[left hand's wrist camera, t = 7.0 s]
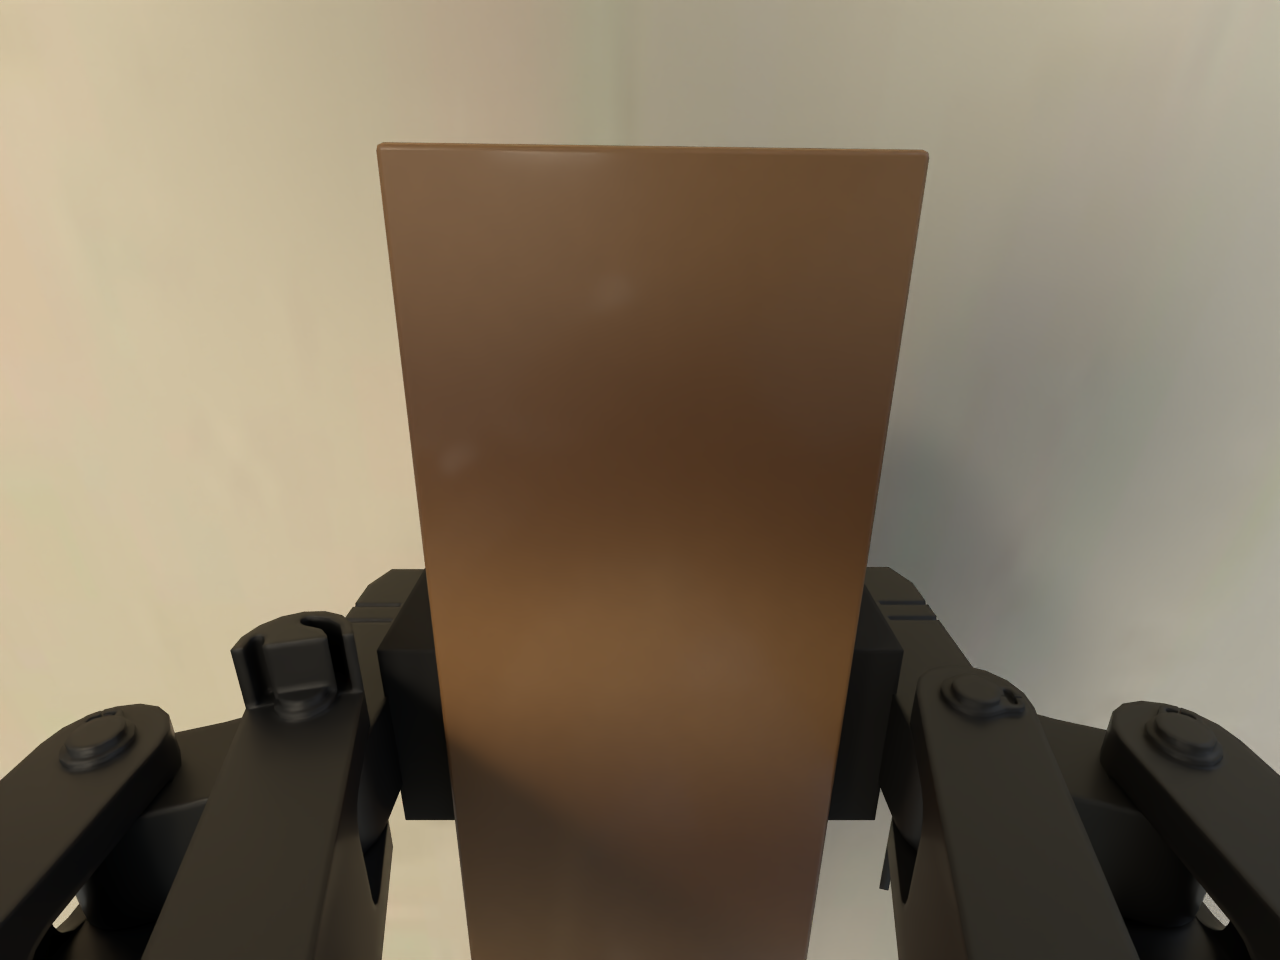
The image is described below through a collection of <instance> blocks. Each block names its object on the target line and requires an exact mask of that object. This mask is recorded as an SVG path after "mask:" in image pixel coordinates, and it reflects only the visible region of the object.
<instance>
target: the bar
mask: <svg viewBox="0 0 1280 960" xmlns="http://www.w3.org/2000/svg"><path fill="white" fill-rule="evenodd" d="M376 151H377V160H378V168H379V177H380V185H381V194H382V202H383V211H384V219H385V228H386V236H387V245H388V253H389V262H390V271H391V279H392V288H393V296H394V305H395V313H396V322H397V330H398V339H399V347H400V356H401V364H402V373H403V381H404V390H405V398H406V407H407V415H408V424H409V432H410V441H411V449H412V458H413V466H414V475H415V483H416V492H417V500H418V509H419V517H420V526H421V534H422V543H423V551H424V560H425V569H426V577H427V586H428V594H429V603H430V611H431V620H432V628H433V637H434V645H435V654H436V662H437V671H438V679H439V688H440V696H441V705H442V713H443V722H444V730H445V739H446V747H447V756H448V764H449V773H450V781H451V790H452V798H453V807H454V815H455V824H456V832H457V841H458V849H459V858H460V866H461V875H462V884H463V892H464V901H465V909H466V918H467V926H468V935H469V943H470V952H471V960H806V959H807V953H808V946H809V940H810V933H811V927H812V920H813V914H814V907H815V900H816V894H817V887H818V881H819V874H820V868H821V861H822V855H823V848H824V842H825V835H826V829H827V822H828V816H829V809H830V802H831V796H832V789H833V783H834V776H835V770H836V763H837V757H838V750H839V744H840V737H841V731H842V724H843V717H844V711H845V704H846V698H847V691H848V685H849V678H850V672H851V665H852V659H853V652H854V646H855V639H856V633H857V626H858V619H859V613H860V606H861V600H862V593H863V587H864V580H865V574H866V567H867V561H868V554H869V548H870V541H871V535H872V528H873V521H874V515H875V508H876V502H877V495H878V489H879V482H880V476H881V469H882V463H883V456H884V450H885V443H886V436H887V430H888V423H889V417H890V410H891V404H892V397H893V391H894V384H895V378H896V371H897V365H898V358H899V352H900V345H901V338H902V332H903V325H904V319H905V312H906V306H907V299H908V293H909V286H910V280H911V273H912V267H913V260H914V253H915V247H916V240H917V234H918V227H919V221H920V214H921V208H922V201H923V195H924V188H925V182H926V175H927V169H928V162H929V154H928V152H926V151H924V150H897V149H825V148H754V147H682V146H610V145H539V144H467V143H395V142H383V143H381V144H378V145H377V150H376Z"/></svg>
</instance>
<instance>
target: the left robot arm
mask: <svg viewBox="0 0 1280 960" xmlns="http://www.w3.org/2000/svg"><path fill="white" fill-rule="evenodd" d="M230 651H231V654H232V658H233V662H234V666H235V669H236V673H237V677H238V681H239V684H240V688H241V692H242V695H243V699H244V703H245V707H246V710H245V712H244V714H243V717H242V718H239V719H235V720H231V721H228V722H224V723H219V724H214V725H210V726H205V727H200V728H196V729H191V730H186V731H181V732H177V733H175V732H174V729H173V726H172V723H171V720H170V717H169V715H168V714H167V713H166V712H165V711H163V710H162V709H161V708H160V707H158V706H152V705H145V704H134V705H125V706H117V707H113V708H109V709H105V710H104V711H98V712H96V713H93V714H90V715H87V716H85V717H84V718H82V719H80V720H78V721H76V722H74V723H72V724H70V725H68V726H66V727H64V728H62V729H61V730H59V731H58V732H57V733H55V734H54V735H52V736H51V737H50V738H48V739H47V740H46V741H44V742H43V743H41V744H40V745H39V746H38V747H37V748H36V749H35V750H34V751H32V752H31V753H30V754H29V755H28V756H27V757H26V758H25V759H24V760H22V761H21V762H20V763H19V764H18V765H17V766H16V767H15V768H14V769H13V770H11V771H10V772H9V773H8V774H7V775H6V776H5V777H4V778H3V779H1V780H0V960H382V950H383V940H384V930H385V920H386V910H387V900H388V890H389V880H390V870H391V860H392V850H393V844H392V838H391V832H390V826H389V821H388V819H389V817H390V814H391V812H392V809H393V807H394V804H395V802H396V799H397V797H398V795H399V792H400V790H401V795H402V801H403V807H404V813H405V819H406V820H455V815H454V807H453V798H452V790H451V781H450V773H449V764H448V756H447V747H446V739H445V730H444V722H443V713H442V705H441V696H440V688H439V679H438V671H437V662H436V654H435V645H434V637H433V628H432V620H431V611H430V603H429V594H428V586H427V577H426V569H392V570H390V571H389V572H387V573H386V574H384V575H383V576H381V577H380V578H378V579H377V580H375V581H374V582H372V583H371V584H369V585H368V586H367V588H366V589H365V591H364V592H363V594H362V595H361V596H360V598H359V599H358V601H357V602H356V606H355V607H353V608H352V609H351V610H350V612H349V613H348V615H347V616H346V617H344V616H342V615H339V614H335V613H331V612H326V611H315V612H301V613H296V614H292V615H287V616H282V617H279V618H277V619H274V620H272V621H269V622H267V623H264V624H262V625H260V626H258V627H256V628H255V629H253V630H252V631H250V632H249V633H247V634H246V635H244V636H243V637H241V638H240V640H239V641H238V642H237V643H236V644H235V646H234V647H233V648H232V649H231V650H230ZM880 788H881V790H882V793H883V795H884V797H885V800H886V802H887V805H888V807H889V810H890V812H891V814H892V821H891V826H890V832H889V837H888V842H887V848H886V853H885V859H884V864H883V869H882V875H881V881H880V888H879V889H884V890H889V885H890V880H891V889H892V899H893V909H894V919H895V929H896V939H897V948H898V958H899V960H1280V775H1279V774H1277V773H1276V772H1275V771H1274V770H1273V769H1272V768H1271V767H1270V766H1269V765H1267V764H1266V763H1265V762H1264V761H1263V760H1262V759H1261V758H1260V757H1258V756H1257V755H1256V754H1255V753H1254V752H1253V751H1252V750H1251V749H1250V748H1248V747H1247V746H1246V745H1245V744H1244V743H1243V742H1242V741H1241V740H1239V739H1238V738H1236V737H1235V736H1234V735H1232V734H1231V733H1229V732H1228V731H1227V730H1225V729H1224V728H1222V727H1221V726H1220V725H1218V724H1216V723H1214V722H1212V721H1210V720H1208V719H1206V718H1204V717H1202V716H1200V715H1198V714H1196V713H1194V712H1192V711H1189V710H1186V709H1183V708H1178V707H1177V706H1172V705H1168V704H1164V703H1155V702H1147V701H1137V702H1131V703H1124V704H1122V705H1121V706H1119V707H1118V708H1117V709H1116V710H1114V711H1113V713H1112V716H1111V719H1110V722H1109V725H1108V728H1107V730H1103V729H1099V728H1094V727H1089V726H1084V725H1080V724H1075V723H1070V722H1065V721H1061V720H1056V719H1052V718H1049V717H1045V716H1041V715H1038V714H1037V713H1036V711H1035V708H1034V707H1033V705H1032V704H1031V702H1030V701H1029V700H1028V698H1027V697H1026V695H1025V694H1024V693H1023V692H1022V691H1020V690H1019V689H1018V688H1016V687H1015V686H1014V685H1012V684H1011V683H1010V682H1008V681H1007V680H1005V679H1003V678H1000V677H998V676H996V675H994V674H992V673H990V672H987V671H984V670H980V669H976V668H973V667H972V666H971V664H970V663H969V661H968V660H967V659H966V657H965V656H964V654H963V653H962V652H961V650H960V649H959V647H958V646H957V645H956V643H955V642H954V640H953V639H952V638H951V636H950V635H949V633H948V632H947V631H946V629H945V628H944V626H943V625H942V624H941V622H940V621H939V620H936V615H935V614H934V613H933V611H932V610H931V608H930V607H929V606H928V605H926V604H925V600H924V599H923V597H922V596H921V594H920V593H919V592H918V590H917V589H916V587H915V586H914V585H913V583H912V582H910V581H909V580H907V579H906V578H904V577H903V576H901V575H900V574H898V573H897V572H895V571H894V570H892V569H891V568H889V567H866V574H865V580H864V587H863V593H862V600H861V606H860V613H859V619H858V626H857V633H856V639H855V646H854V652H853V659H852V665H851V672H850V678H849V685H848V691H847V698H846V704H845V711H844V717H843V724H842V731H841V737H840V744H839V750H838V757H837V763H836V770H835V776H834V783H833V789H832V796H831V802H830V809H829V816H828V820H875V815H876V810H877V804H878V798H879V792H880ZM1206 892H1207V893H1208V894H1209V896H1210V897H1211V898H1212V899H1213V901H1214V902H1215V903H1216V904H1217V905H1218V907H1219V908H1220V909H1221V910H1222V912H1223V913H1224V914H1225V915H1226V916H1227V918H1228V919H1229V920H1230V922H1229V924H1228V925H1227V926H1224V925H1223V924H1222V923H1221V922H1220V921H1219V920H1218V919H1217V918H1216V917H1215V916H1214V915H1213V914H1212V913H1211V911H1210V910H1209V909H1208V908H1207V906H1206V905H1205V904H1204V903H1203V902H1202V901H1203V899H1204V897H1205V894H1206ZM75 895H76V897H77V900H78V902H79V905H78V906H77V907H76V909H75V910H74V911H73V912H72V914H71V915H70V916H69V917H68V918H67V919H66V920H65V921H64V922H63V923H62V924H61V925H60V926H59V927H58V928H55V927H53V925H52V923H53V922H54V921H55V920H56V919H57V917H58V916H59V915H60V914H61V912H62V911H63V910H64V909H65V907H66V906H67V905H68V904H69V903H70V901H71V900H72V899H73V898H74V896H75Z"/></svg>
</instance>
